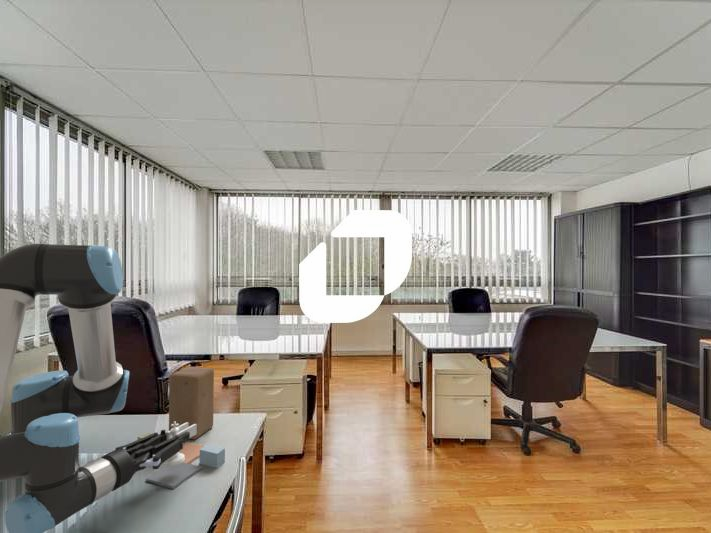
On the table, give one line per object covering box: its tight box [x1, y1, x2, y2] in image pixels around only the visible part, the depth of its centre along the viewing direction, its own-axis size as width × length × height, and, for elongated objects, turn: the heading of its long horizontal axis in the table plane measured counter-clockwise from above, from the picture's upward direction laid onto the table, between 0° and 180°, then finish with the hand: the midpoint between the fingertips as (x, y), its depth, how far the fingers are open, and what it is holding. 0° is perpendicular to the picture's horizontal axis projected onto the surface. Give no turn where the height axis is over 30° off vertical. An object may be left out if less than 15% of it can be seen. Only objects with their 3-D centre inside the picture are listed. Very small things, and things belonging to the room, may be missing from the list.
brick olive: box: [136, 431, 152, 441], centre depth 104 cm, size 6×3×4 cm, turn 70°
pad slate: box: [145, 462, 202, 490], centre depth 92 cm, size 9×9×1 cm
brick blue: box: [198, 444, 226, 469], centre depth 98 cm, size 6×3×4 cm, turn 70°
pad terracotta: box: [179, 441, 205, 464], centre depth 102 cm, size 9×9×1 cm
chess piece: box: [163, 421, 185, 466], centre depth 92 cm, size 5×5×10 cm
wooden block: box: [168, 366, 215, 440], centre depth 116 cm, size 10×10×20 cm
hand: (191, 428), depth 97 cm, fingers closed on chess piece, 2 cm apart
